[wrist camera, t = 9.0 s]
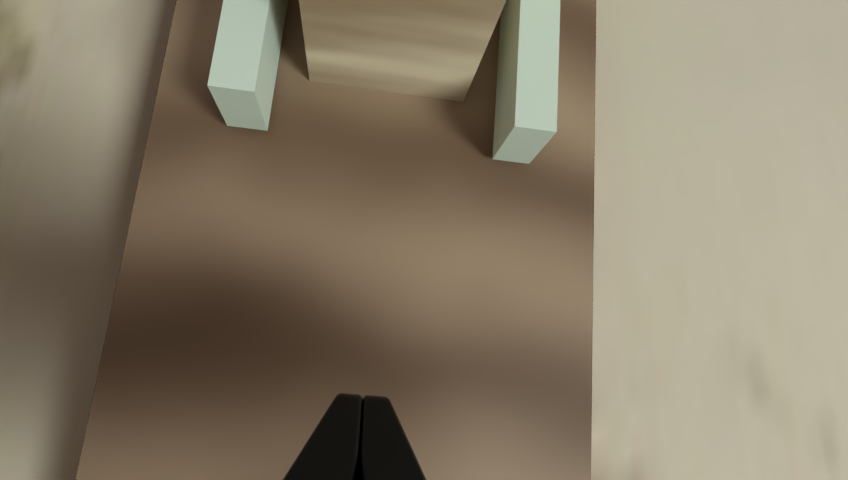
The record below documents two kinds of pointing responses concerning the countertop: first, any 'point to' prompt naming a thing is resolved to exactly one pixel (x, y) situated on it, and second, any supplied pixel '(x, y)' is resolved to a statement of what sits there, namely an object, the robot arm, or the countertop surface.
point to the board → (351, 275)
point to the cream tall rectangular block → (398, 43)
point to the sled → (516, 75)
